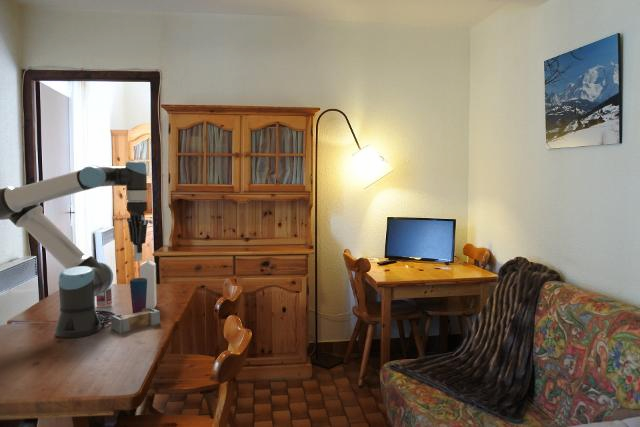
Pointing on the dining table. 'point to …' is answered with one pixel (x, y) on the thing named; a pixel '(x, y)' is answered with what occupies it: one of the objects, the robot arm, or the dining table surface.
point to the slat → (138, 319)
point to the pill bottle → (104, 298)
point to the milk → (149, 281)
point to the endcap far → (153, 316)
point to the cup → (138, 294)
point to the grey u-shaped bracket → (119, 323)
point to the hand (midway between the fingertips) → (138, 260)
